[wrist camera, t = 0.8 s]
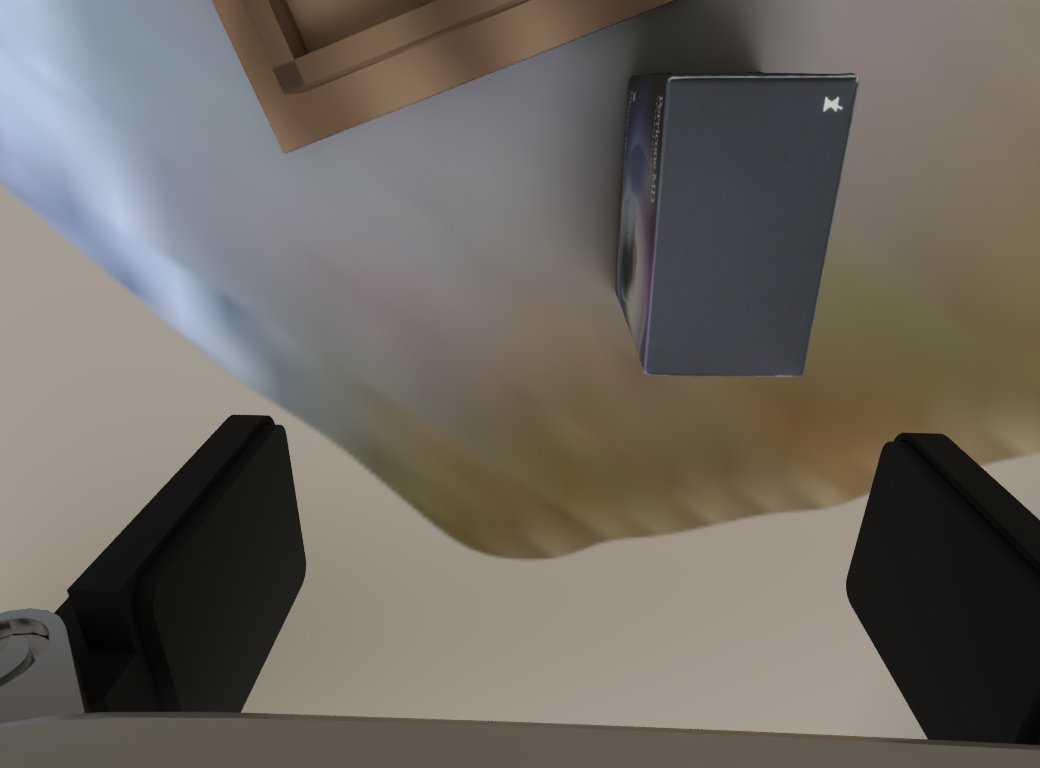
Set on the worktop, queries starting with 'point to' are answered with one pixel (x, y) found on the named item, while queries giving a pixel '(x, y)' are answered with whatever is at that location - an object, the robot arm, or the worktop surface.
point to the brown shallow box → (390, 51)
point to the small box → (729, 217)
